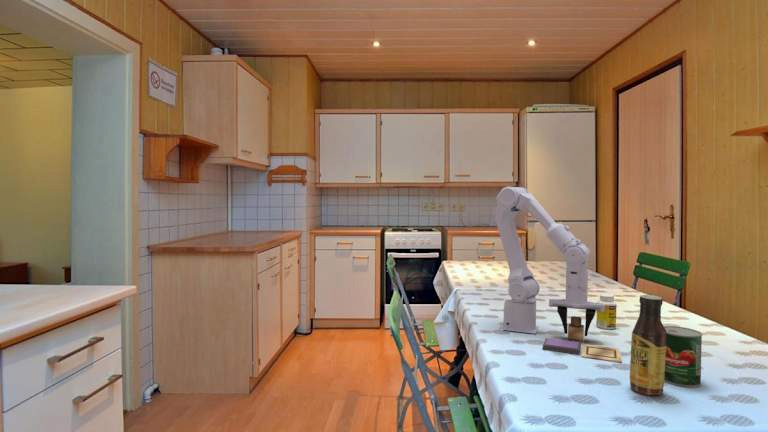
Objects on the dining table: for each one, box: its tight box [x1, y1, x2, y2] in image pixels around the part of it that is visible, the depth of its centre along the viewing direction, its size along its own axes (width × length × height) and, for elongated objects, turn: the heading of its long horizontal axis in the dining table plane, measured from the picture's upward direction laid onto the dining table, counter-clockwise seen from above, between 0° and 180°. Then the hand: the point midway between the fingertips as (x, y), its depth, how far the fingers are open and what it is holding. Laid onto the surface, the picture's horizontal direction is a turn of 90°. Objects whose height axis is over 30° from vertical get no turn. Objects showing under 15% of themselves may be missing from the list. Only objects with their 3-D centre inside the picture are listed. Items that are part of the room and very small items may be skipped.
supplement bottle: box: [596, 293, 617, 330], centre depth 142 cm, size 6×6×10 cm
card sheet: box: [581, 343, 623, 364], centre depth 118 cm, size 9×11×1 cm
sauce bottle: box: [629, 294, 666, 396], centre depth 94 cm, size 6×6×20 cm
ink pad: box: [542, 337, 582, 356], centre depth 122 cm, size 9×7×1 cm
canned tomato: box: [663, 325, 703, 388], centre depth 100 cm, size 8×8×11 cm
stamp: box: [567, 315, 585, 344], centre depth 129 cm, size 4×4×6 cm
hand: (575, 334), depth 129 cm, fingers open, 5 cm apart
